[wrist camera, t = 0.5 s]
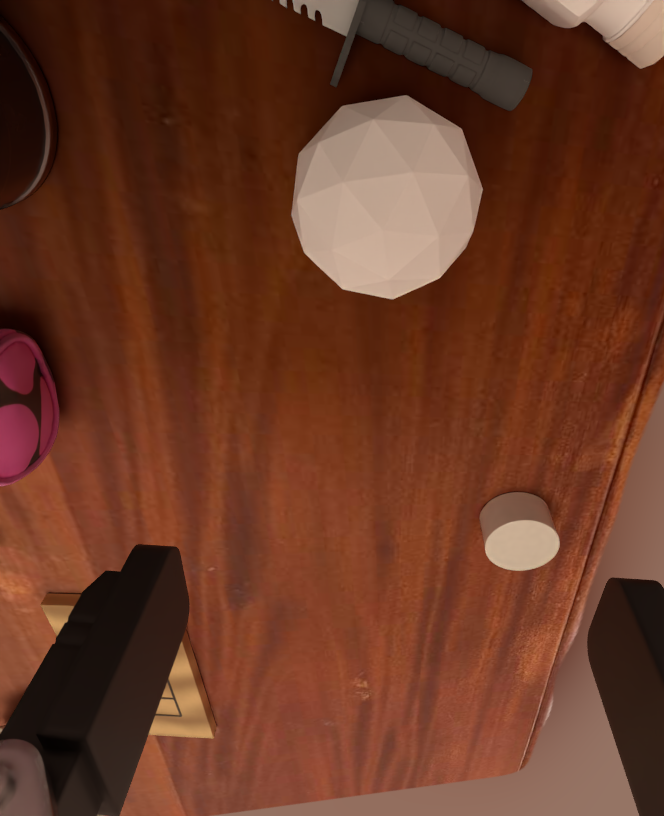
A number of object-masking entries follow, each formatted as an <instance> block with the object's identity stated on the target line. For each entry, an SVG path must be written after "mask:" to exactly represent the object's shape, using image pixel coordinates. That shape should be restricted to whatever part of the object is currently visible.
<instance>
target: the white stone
mask: <svg viewBox="0 0 664 816" xmlns="http://www.w3.org/2000/svg"><path fill="white" fill-rule="evenodd" d="M479 521H480V527H481V532H482V537H483V542H484V548H485V552H486V555H487V557H488V558H489V559H490V561H492V562H493V563H494V564H495V565H497V566H499V567H501V568H504V569H508V570H516V571H523V570H530V569H534V568H537V567H540V566H542V565H544V564H546V563H547V562H549V561H550V560H551V559H552V558H553V557H554V556H555V555H556V553H557V551H558V549H559V545H560V540H559V536H558V533H557V531H556V528H555V525H554V522H553V519H552V516H551V513H550V510H549V508H548V506H547V504H546V503H545V502H544V501H543V500H542V499H541V498H539V497H537V496H535V495H533V494H530V493H524V492H512V493H506V494H503V495H500V496H497V497H495V498H494V499H492V500H491V501H489V502H488V503H487V504H486V505H485V506H484V508H483V509H482V511H481V513H480V519H479Z"/></svg>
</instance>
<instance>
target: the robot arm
mask: <svg viewBox="0 0 664 816" xmlns="http://www.w3.org/2000/svg"><path fill="white" fill-rule="evenodd" d="M56 145H57V124H56V116H55V110H54V106H53V102H52V98H51V95H50V92H49V89H48V86H47V83H46V81H45V79H44V76H43V74H42V72H41V70H40V68H39V66H38V64H37V62H36V60H35V59H34V57H33V55H32V54H31V52H30V51H29V49H28V48H27V46H26V45H25V43H24V42H23V41H22V39H21V38H20V37H19V36H18V34H17V33H16V32H15V31H14V29H13V28H12V27H11V26H10V25H9V24H8V23H7V22H6V21H5V20H4V19H3V18H2V17H1V16H0V210H1V209H4V208H7V207H10V206H12V205H14V204H16V203H18V202H20V201H22V200H24V199H26V198H27V197H29V196H30V195H32V194H33V193H34V192H35V191H36V190H37V189H38V188H39V187H40V186H41V185H42V183H43V182H44V180H45V179H46V177H47V176H48V174H49V172H50V169H51V167H52V164H53V161H54V157H55V152H56ZM188 616H189V596H188V591H187V586H186V581H185V576H184V571H183V566H182V561H181V556H180V552H179V549H178V548H177V547H172V546H157V545H142V544H138V545H136V546H135V547H134V548H133V549H132V551H131V553H130V555H129V557H128V558H127V560H126V562H125V564H124V566H123V568H122V570H121V572H117V571H105V572H104V573H103V574H102V575H101V576H100V577H98V578H97V579H96V580H95V581H94V582H93V583H92V584H91V585H90V586H89V587H87V588H86V589H85V590H84V591H83V592H82V594H81V596H80V597H79V599H78V601H77V603H76V604H75V606H74V608H73V610H72V611H71V613H70V615H69V616H68V621H67V623H64V625H63V627H62V629H61V630H60V632H59V634H58V636H57V637H56V642H55V644H52V646H51V648H50V650H49V651H48V653H47V655H46V656H45V658H44V660H43V662H42V663H41V665H40V667H39V669H38V670H37V672H36V674H35V676H34V677H33V679H32V681H31V683H30V684H29V686H28V688H27V689H26V691H25V693H24V695H23V696H22V698H21V700H20V702H19V703H18V705H17V707H16V709H15V710H14V712H13V714H12V716H11V717H10V719H9V721H8V722H7V724H6V726H5V727H4V729H3V730H2V732H1V733H0V816H97V815H107V816H119V815H120V812H121V810H122V807H123V804H124V801H125V798H126V796H127V793H128V790H129V787H130V784H131V782H132V779H133V776H134V773H135V770H136V768H137V765H138V762H139V759H140V756H141V754H142V751H143V748H144V745H145V742H146V740H147V737H148V734H149V731H150V729H151V726H152V723H153V720H154V717H155V715H156V712H157V709H158V706H159V703H160V701H161V698H162V695H163V692H164V689H165V687H166V684H167V681H168V678H169V675H170V673H171V670H172V667H173V664H174V661H175V659H176V656H177V653H178V650H179V647H180V645H181V642H182V639H183V636H184V633H185V630H186V627H187V622H188ZM587 643H588V656H589V662H590V665H591V669H592V672H593V675H594V678H595V681H596V684H597V687H598V690H599V693H600V696H601V699H602V702H603V705H604V708H605V712H606V715H607V718H608V721H609V724H610V727H611V730H612V733H613V736H614V739H615V742H616V745H617V748H618V751H619V754H620V757H621V761H622V764H623V766H624V769H625V772H626V776H627V779H628V782H629V785H630V788H631V791H632V794H633V797H634V800H635V803H636V806H637V810H638V813H639V816H664V588H663V587H662V585H661V584H660V583H659V582H657V581H654V580H640V579H624V578H610V579H609V580H608V581H607V583H606V586H605V588H604V591H603V594H602V597H601V599H600V602H599V604H598V607H597V610H596V612H595V615H594V618H593V620H592V623H591V626H590V628H589V632H588V641H587Z"/></svg>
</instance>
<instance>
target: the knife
mask: <svg viewBox="0 0 664 816" xmlns="http://www.w3.org/2000/svg"><path fill="white" fill-rule="evenodd" d="M272 1H273V0H272ZM292 1H293V5H294V11H296V12H298V13H299V14H301V6H302V5H303V4H305V5H306V6H307V9H308V17H309V18H311V19H312V20H314V21H315V11H316V10H318V11H320V13H321V16H322V25H324V26H326V27H328V28H330V29H332V30H334V31H336V32H338V33H340V34H342V35H344V36H346V40H345V42H344V45H343V48H342V51H341V54H340V57H339V60H338V62H337V65H336V68H335V71H334V74H333V77H332V80H331V83H330V85H332V86H335V87H337V84H338V81H339V79H340V76H341V73H342V70H343V67H344V65H345V62H346V59H347V56H348V53H349V51H350V48H351V45H352V42H353V39H354V37H355V34H357V35H359V36H361V37H363V38H365V39H367V40H370V41H372V42H374V43H376V44H379V43H380V44H382V45H383V47H384V48H386V49H388V50H390V51H392V52H394V53H396V54H398V55H405V57H406V58H407V59H408V60H410V61H412V62H414V63H417V64H419V65H421V66H424V65H425V66H427V67H428V69H429V70H431V71H433V72H435V73H437V74H439V75H441V76H443V77H445V76H448V77H449V79H450V80H451V81H453V82H455V83H457V84H459V85H461V86H464V87H470V89H471V90H472V91H474V92H476V93H478V94H479V95H480V96H481V97H482V98H483V99H485V100H487V101H489V102H491V103H493V104H495V105H497V106H499V107H501V108H504V109H506V110H508V111H512V110H513V109H514V108H515V107H516V106H517V105H518V104H519V102H520V101H521V99H522V98H523V96H524V94H525V93H526V91H527V89H528V87H529V84H530V81H531V78H532V69H531V68H529V67H527V66H526V65H524V64H522V63H520V62H518V61H517V60H515V59H513V58H511V57H508V56H506V55H504V54H497V53H495V52H493V51H491V50H489V51H486V50H485V47H483V46H481V45H479V44H477V43H475V42H473V41H471V40H469V39H467V40H465V39H463V36H461V35H460V34H458V33H456V32H454V31H452V30H450V29H448V28H444V29H443V28H441V26H440V24H438V23H436V22H434V21H432V20H430V19H428V18H426V17H424V16H422V17H419V16H418V14H417V13H416V12H414V11H412V10H410V9H408V8H406V7H404V6H402V5H396V4H395V3H394V1H393V0H292ZM280 4H282V5H283V6H285V7H286V8H287V0H280Z"/></svg>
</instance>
